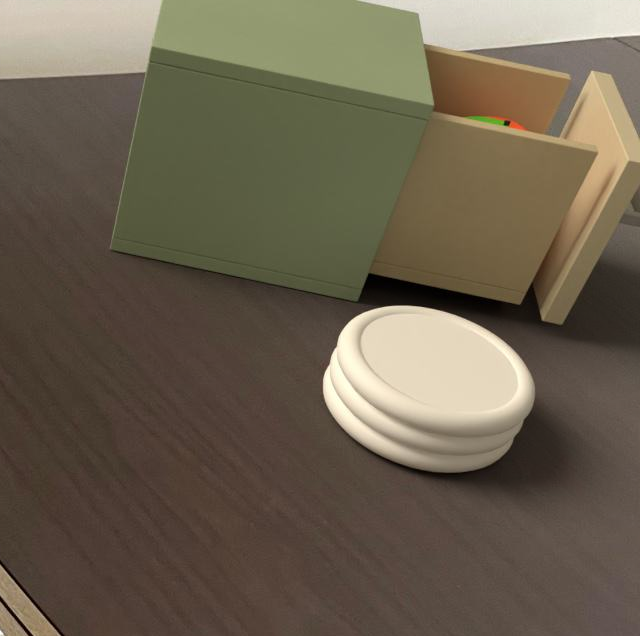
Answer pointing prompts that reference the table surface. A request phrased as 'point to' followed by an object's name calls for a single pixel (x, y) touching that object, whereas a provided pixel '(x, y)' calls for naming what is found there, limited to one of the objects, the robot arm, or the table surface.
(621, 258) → the table surface
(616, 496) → the table surface
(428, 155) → the drawer
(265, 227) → the cabinet
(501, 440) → the cream round stack
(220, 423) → the table surface
